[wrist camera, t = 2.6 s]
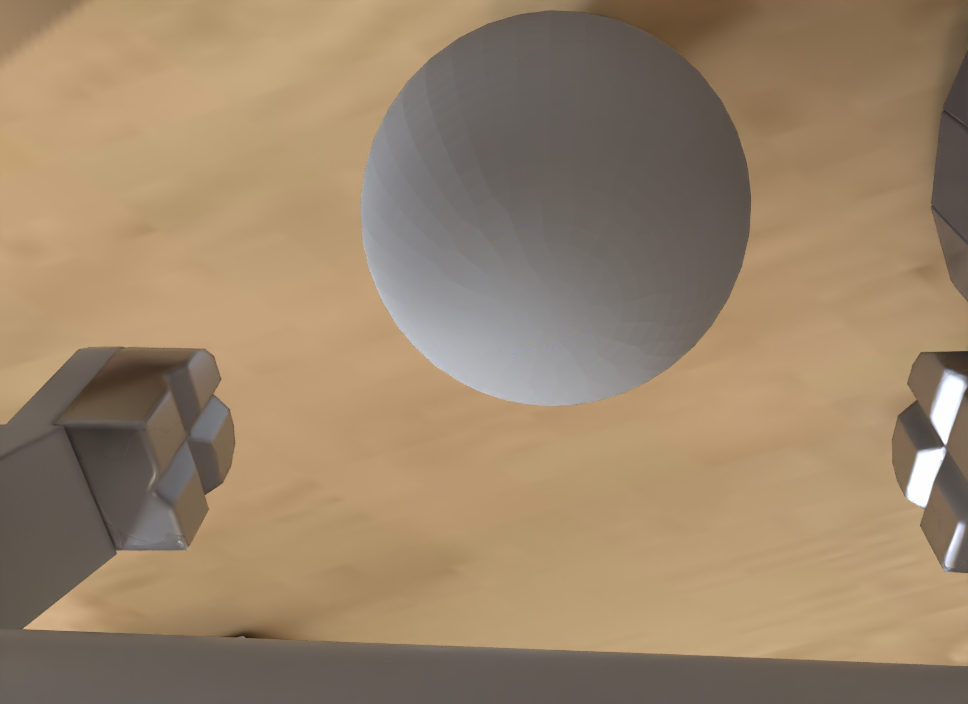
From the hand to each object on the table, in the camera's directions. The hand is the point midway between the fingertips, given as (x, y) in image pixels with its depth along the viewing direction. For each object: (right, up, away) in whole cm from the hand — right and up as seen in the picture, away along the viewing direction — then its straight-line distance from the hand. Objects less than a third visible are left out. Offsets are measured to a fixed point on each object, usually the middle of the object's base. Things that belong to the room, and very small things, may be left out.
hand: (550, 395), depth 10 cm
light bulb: (+1, +7, +9) cm, 11 cm away
